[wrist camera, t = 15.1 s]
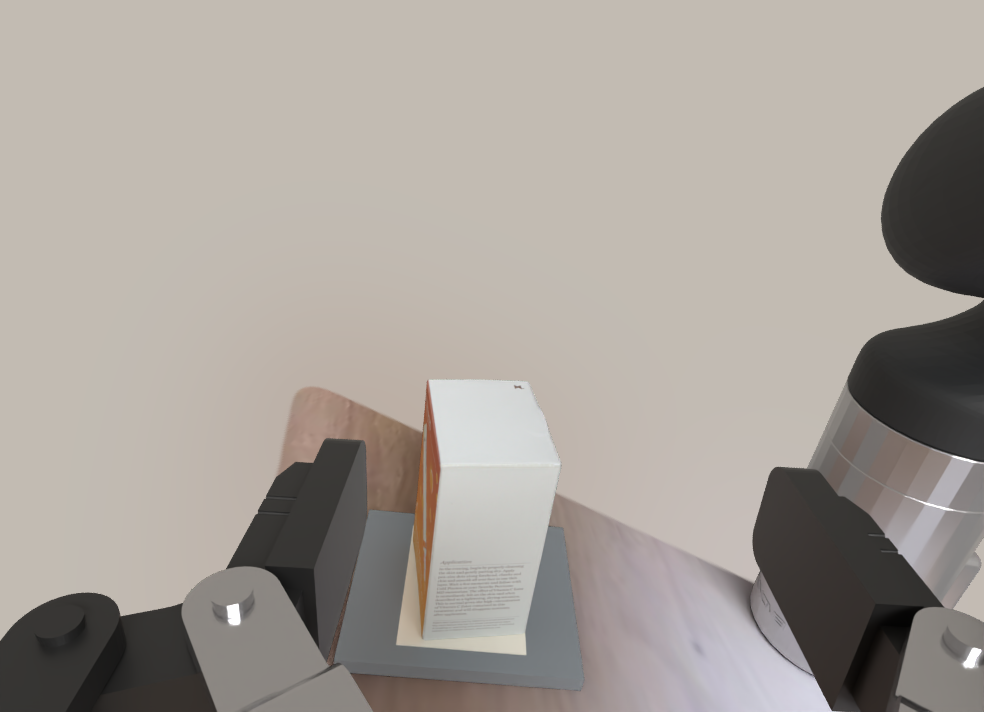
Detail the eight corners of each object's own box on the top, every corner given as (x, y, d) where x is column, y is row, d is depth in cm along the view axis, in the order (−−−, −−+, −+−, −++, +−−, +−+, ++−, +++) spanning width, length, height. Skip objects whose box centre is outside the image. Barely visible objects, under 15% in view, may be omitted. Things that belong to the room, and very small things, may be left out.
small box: (410, 540, 44) (425, 375, 38) (502, 537, 45) (531, 378, 39) (419, 644, 37) (438, 464, 31) (526, 637, 38) (566, 463, 32)
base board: (560, 537, 47) (563, 526, 47) (581, 690, 37) (584, 678, 36) (368, 520, 47) (369, 508, 46) (333, 671, 36) (333, 659, 35)
